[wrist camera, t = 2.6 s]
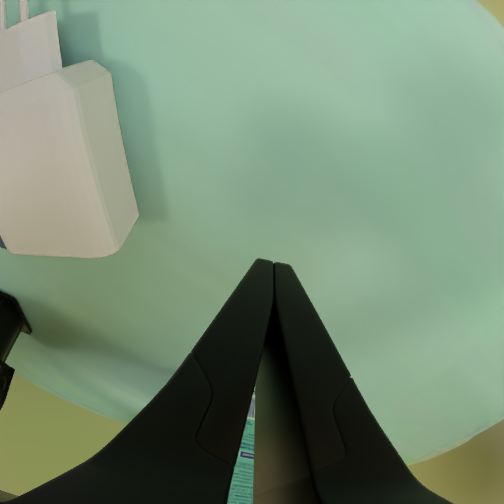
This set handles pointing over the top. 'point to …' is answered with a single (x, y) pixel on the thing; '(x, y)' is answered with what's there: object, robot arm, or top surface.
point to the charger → (58, 148)
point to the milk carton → (244, 464)
